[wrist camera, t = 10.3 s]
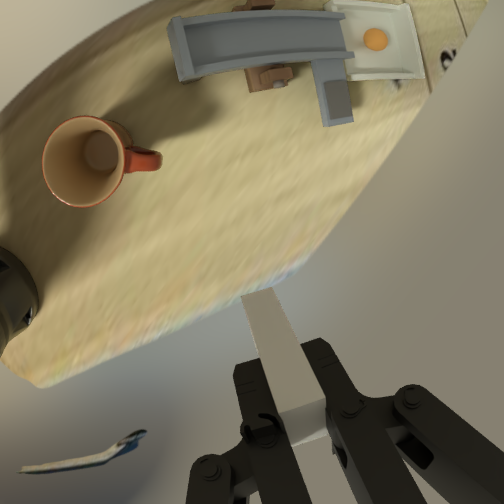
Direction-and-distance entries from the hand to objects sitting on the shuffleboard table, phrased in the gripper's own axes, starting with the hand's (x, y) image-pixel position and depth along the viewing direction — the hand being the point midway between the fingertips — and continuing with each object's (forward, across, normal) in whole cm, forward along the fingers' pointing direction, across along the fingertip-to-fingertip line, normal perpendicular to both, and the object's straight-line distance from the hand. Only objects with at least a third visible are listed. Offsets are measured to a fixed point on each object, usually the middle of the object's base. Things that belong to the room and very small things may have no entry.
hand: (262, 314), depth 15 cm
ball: (+24, +25, +16) cm, 38 cm away
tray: (+26, +25, +16) cm, 40 cm away
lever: (+21, +9, +12) cm, 26 cm away
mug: (+27, -10, +8) cm, 30 cm away
